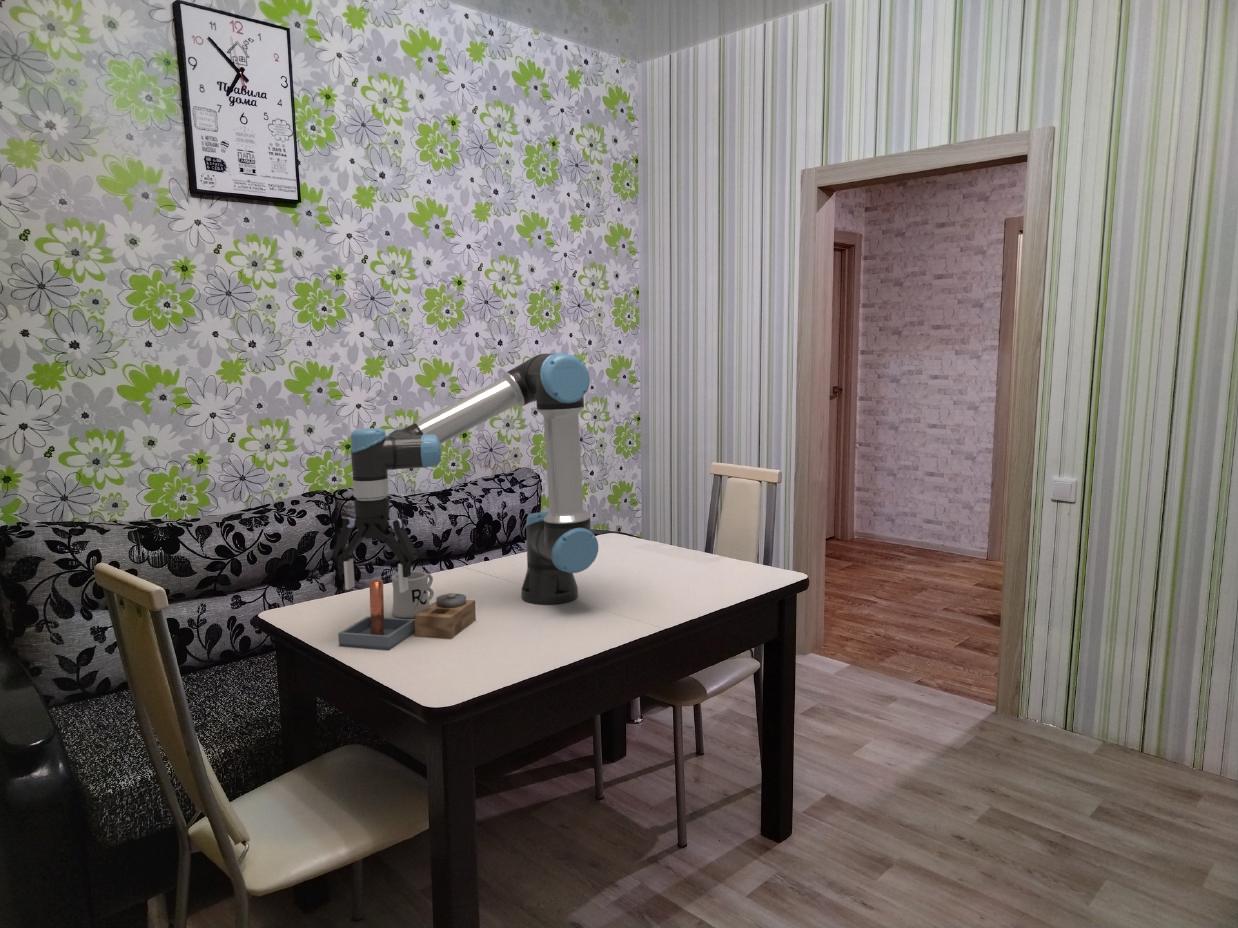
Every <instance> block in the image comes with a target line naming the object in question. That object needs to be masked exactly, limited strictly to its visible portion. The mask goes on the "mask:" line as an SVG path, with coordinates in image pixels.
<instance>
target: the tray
mask: <svg viewBox="0 0 1238 928" xmlns="http://www.w3.org/2000/svg"><path fill="white" fill-rule="evenodd" d="M412 635H415V619H413V618H398V617H396V618H395V617H384V635H372V634H371V624H370V615H368V616H366V617H364V618H362V619H360V620H359V621H356V623H354V624H352V625H350V626H348V627H347V628H344V630H342V631H340V632H338V635H337V636H338V646H339V647H344V648H345V647H346V648H358V649H368V650H369V649H370V650H382V651H391V650H392V649H393V648H395V647H396V646H398V645H399V644H400V643H403V642H404V641H405V640H407V639H408V638H410V637H411V636H412Z"/></svg>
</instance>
